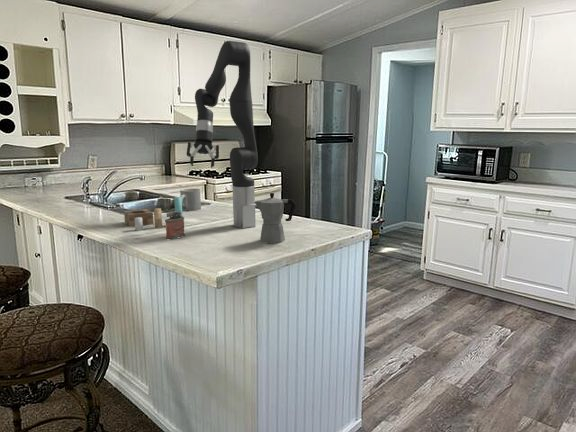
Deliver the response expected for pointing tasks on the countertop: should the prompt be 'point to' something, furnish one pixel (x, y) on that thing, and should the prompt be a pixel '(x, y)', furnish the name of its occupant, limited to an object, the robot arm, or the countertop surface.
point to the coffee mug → (190, 199)
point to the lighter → (174, 225)
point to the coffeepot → (273, 218)
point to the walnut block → (144, 214)
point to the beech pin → (158, 218)
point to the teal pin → (178, 204)
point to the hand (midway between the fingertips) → (202, 166)
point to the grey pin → (138, 224)
